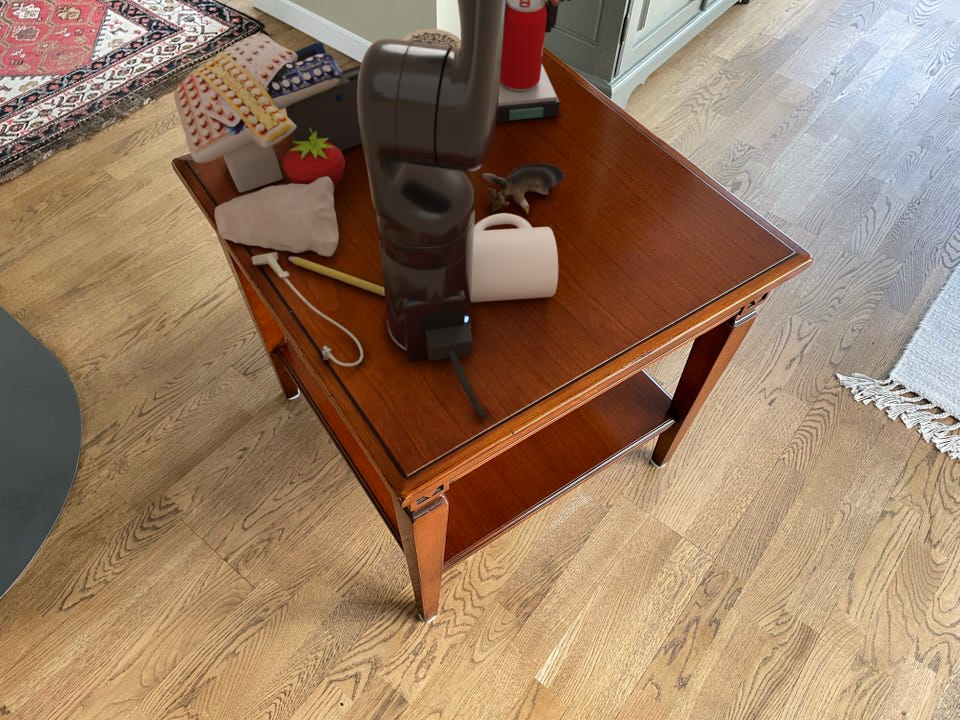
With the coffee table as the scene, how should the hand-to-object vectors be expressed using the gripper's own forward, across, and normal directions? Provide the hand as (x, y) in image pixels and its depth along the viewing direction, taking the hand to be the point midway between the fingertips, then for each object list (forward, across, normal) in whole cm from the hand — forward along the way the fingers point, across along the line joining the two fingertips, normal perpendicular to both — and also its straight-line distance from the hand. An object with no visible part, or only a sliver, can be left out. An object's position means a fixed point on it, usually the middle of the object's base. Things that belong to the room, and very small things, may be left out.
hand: (522, 31), depth 96 cm
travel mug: (+11, -15, -14) cm, 23 cm away
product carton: (+11, -38, -10) cm, 41 cm away
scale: (+11, 0, 0) cm, 11 cm away
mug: (+11, -10, -34) cm, 37 cm away
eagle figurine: (+11, -5, -22) cm, 25 cm away
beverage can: (+8, 0, 0) cm, 8 cm away
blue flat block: (+3, -28, -1) cm, 29 cm away
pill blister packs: (0, -32, -16) cm, 36 cm away
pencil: (+11, -30, -31) cm, 44 cm away
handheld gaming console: (+11, -22, -5) cm, 25 cm away
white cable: (+11, -30, -45) cm, 55 cm away
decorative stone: (+8, -28, -24) cm, 38 cm away
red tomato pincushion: (+11, -30, -17) cm, 36 cm away
